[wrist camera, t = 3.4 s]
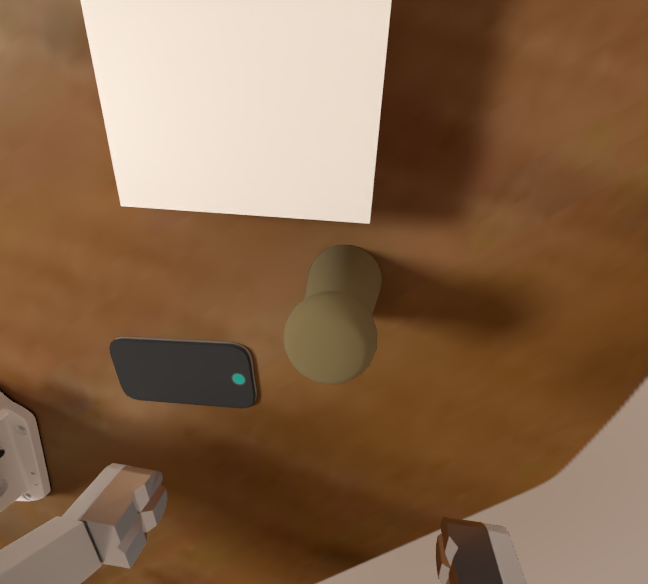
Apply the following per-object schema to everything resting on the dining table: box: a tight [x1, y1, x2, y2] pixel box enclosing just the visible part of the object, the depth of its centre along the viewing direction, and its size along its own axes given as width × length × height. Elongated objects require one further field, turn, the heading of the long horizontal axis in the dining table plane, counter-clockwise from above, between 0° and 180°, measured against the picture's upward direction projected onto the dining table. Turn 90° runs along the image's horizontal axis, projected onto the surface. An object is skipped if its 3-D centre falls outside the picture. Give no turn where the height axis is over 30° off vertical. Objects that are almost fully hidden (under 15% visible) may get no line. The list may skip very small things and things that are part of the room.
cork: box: [284, 245, 382, 384], centre depth 21 cm, size 6×6×11 cm
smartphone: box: [110, 337, 257, 408], centre depth 33 cm, size 8×1×15 cm
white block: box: [81, 0, 392, 224], centre depth 19 cm, size 16×16×6 cm
